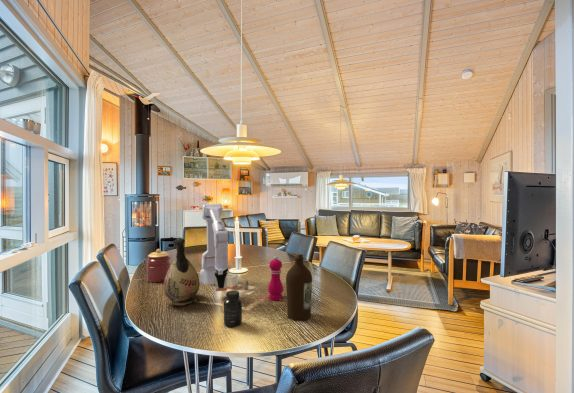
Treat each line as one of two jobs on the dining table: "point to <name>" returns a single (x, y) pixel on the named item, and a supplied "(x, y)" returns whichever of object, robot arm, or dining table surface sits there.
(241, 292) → the pin board
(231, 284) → the seated sleeve
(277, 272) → the pepper mill
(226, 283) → the sleeve
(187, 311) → the dining table surface
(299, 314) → the olive oil
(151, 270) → the canister
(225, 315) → the supplement bottle
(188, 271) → the ceramic jug
